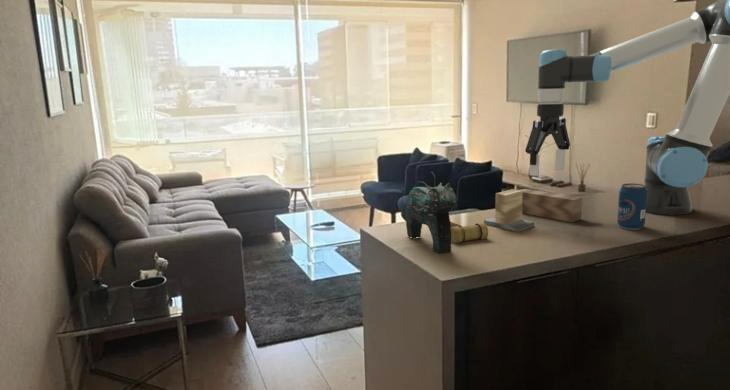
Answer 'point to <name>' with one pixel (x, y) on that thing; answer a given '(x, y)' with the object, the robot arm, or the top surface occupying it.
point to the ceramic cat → (431, 213)
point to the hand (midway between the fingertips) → (547, 172)
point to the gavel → (468, 232)
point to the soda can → (632, 206)
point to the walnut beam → (551, 205)
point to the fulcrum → (509, 211)
